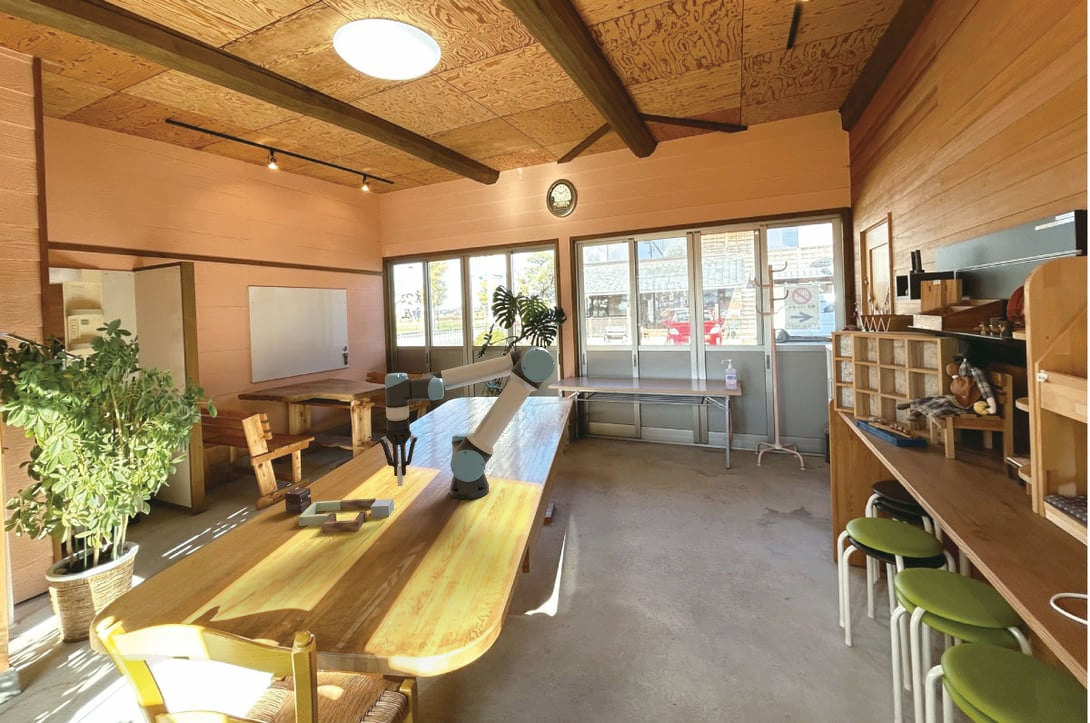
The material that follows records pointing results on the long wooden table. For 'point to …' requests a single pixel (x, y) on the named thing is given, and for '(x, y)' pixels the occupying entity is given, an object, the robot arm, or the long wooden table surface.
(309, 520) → the bay
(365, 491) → the long wooden table surface
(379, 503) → the grey square block
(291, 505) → the box
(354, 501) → the open corridor walls
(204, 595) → the long wooden table surface
